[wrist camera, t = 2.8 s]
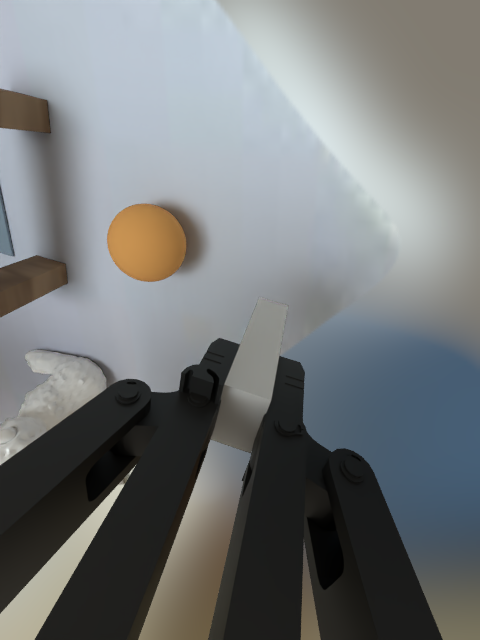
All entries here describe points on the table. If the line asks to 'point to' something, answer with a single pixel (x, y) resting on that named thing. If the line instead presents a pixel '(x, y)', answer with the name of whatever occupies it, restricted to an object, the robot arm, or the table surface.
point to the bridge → (36, 272)
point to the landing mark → (4, 232)
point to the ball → (146, 242)
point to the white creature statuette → (50, 398)
